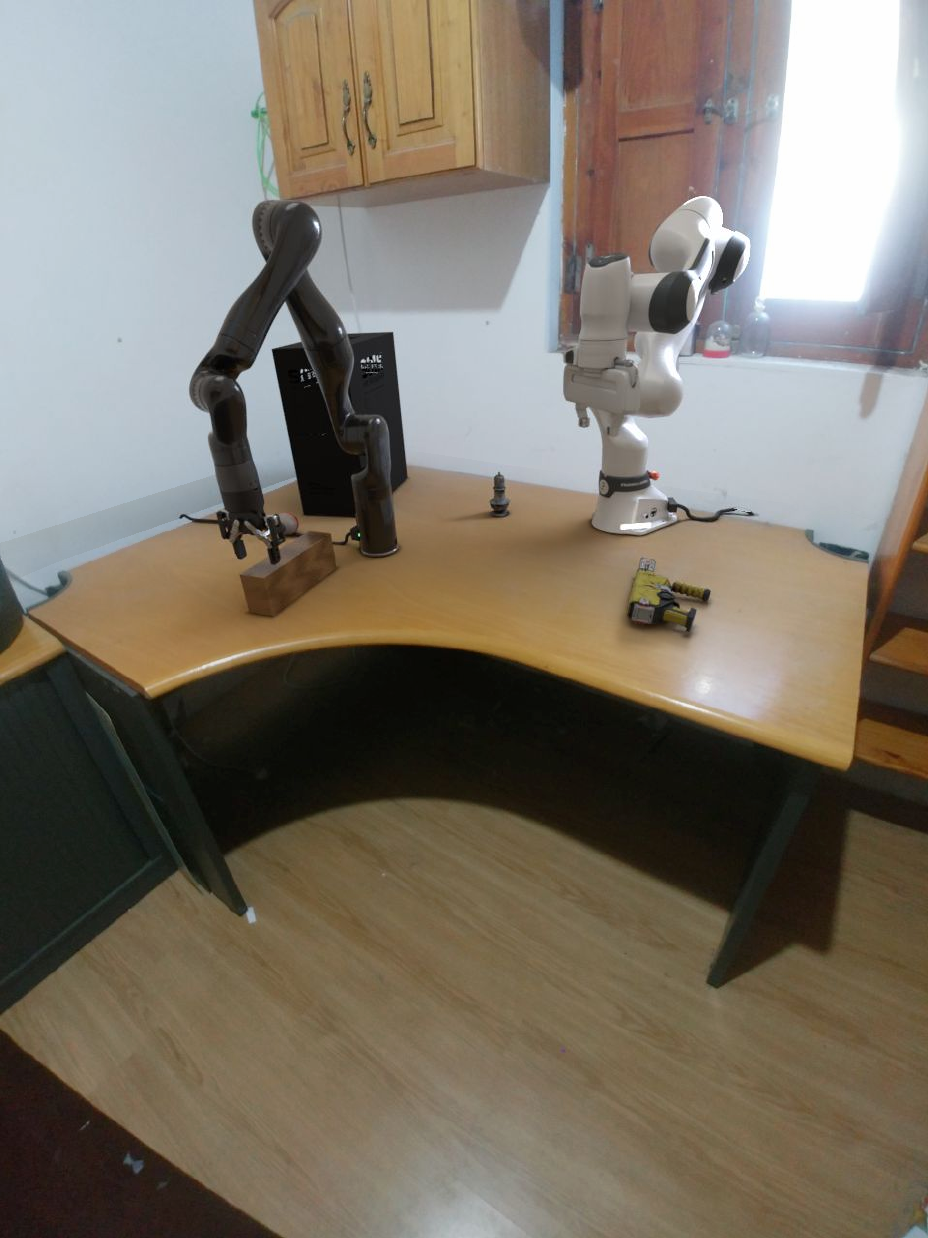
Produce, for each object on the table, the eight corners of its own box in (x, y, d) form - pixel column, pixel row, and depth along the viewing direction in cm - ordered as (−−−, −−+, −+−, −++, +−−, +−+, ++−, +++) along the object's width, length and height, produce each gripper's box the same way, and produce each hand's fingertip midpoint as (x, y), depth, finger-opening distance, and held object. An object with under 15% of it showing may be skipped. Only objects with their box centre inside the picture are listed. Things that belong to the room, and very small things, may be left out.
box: (315, 564, 147) (308, 530, 142) (336, 567, 145) (330, 533, 140) (249, 612, 127) (239, 574, 123) (272, 616, 125) (263, 578, 121)
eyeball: (273, 537, 164) (268, 516, 161) (287, 528, 169) (282, 508, 166) (291, 539, 161) (286, 518, 158) (305, 530, 166) (301, 510, 163)
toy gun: (712, 567, 127) (640, 554, 131) (714, 617, 107) (629, 601, 111) (706, 587, 130) (636, 574, 134) (707, 640, 109) (624, 623, 113)
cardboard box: (367, 516, 174) (344, 346, 151) (303, 514, 178) (271, 348, 156) (407, 477, 205) (393, 331, 183) (352, 476, 210) (331, 334, 187)
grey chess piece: (508, 517, 168) (508, 474, 162) (488, 516, 169) (486, 474, 163) (511, 509, 173) (511, 468, 167) (491, 509, 174) (490, 468, 168)
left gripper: (196, 487, 115) (219, 564, 123) (256, 493, 110) (275, 573, 118) (224, 475, 121) (243, 549, 129) (281, 480, 116) (298, 557, 124)
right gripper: (652, 358, 105) (645, 439, 112) (585, 349, 121) (581, 420, 128) (623, 362, 103) (617, 444, 110) (558, 352, 119) (556, 424, 126)
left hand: (259, 560), depth 124 cm, fingers open, 8 cm apart
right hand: (597, 431), depth 119 cm, fingers open, 8 cm apart
